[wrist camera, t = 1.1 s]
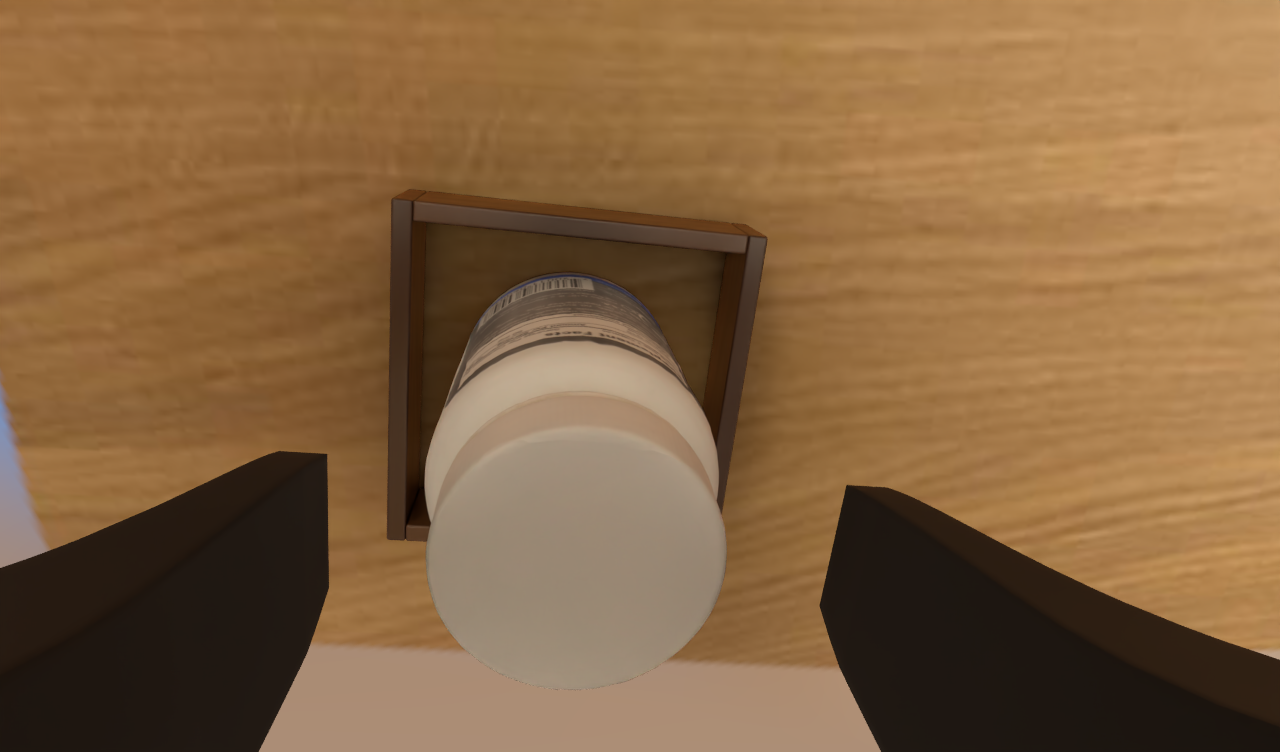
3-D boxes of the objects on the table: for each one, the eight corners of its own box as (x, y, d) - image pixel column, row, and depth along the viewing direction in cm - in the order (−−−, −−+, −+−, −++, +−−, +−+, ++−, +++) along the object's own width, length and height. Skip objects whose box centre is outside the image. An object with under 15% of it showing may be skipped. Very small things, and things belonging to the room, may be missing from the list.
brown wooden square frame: (748, 224, 17) (768, 236, 16) (701, 516, 20) (715, 555, 18) (407, 188, 16) (391, 197, 15) (402, 501, 19) (386, 540, 17)
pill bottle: (625, 484, 19) (675, 749, 11) (438, 426, 18) (348, 673, 10) (700, 308, 18) (816, 468, 10) (503, 235, 17) (458, 350, 9)
